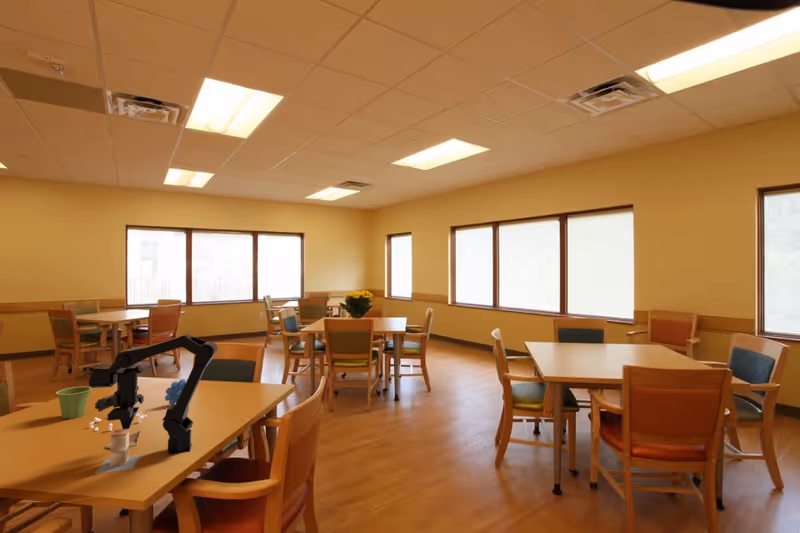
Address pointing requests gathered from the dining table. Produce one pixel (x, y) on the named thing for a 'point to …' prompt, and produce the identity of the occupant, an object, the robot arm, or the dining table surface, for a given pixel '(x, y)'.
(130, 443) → the shard
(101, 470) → the mat
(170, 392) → the grapes
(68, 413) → the plant pot
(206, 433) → the dining table surface
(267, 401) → the dining table surface
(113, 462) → the block
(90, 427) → the game piece set
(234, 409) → the dining table surface
